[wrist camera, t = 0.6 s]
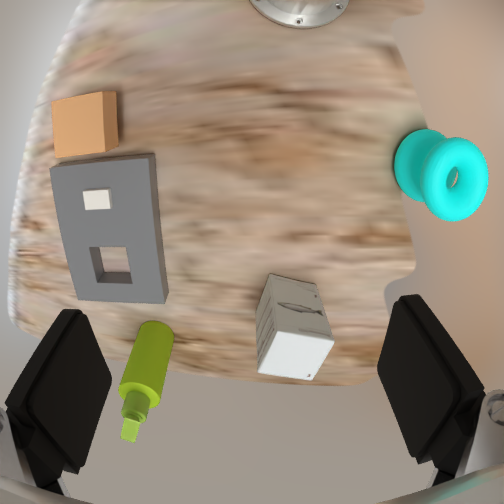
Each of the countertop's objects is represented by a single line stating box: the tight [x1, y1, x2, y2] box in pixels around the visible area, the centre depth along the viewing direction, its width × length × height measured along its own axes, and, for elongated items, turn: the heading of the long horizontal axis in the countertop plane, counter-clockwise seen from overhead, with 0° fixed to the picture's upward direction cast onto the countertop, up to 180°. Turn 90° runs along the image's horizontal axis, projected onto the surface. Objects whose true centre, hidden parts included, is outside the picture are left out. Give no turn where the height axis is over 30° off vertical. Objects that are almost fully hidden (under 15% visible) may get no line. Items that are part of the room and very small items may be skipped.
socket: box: [50, 154, 169, 304], centre depth 40 cm, size 20×14×4 cm
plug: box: [52, 91, 119, 158], centre depth 32 cm, size 7×7×7 cm
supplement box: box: [256, 274, 335, 380], centre depth 41 cm, size 7×7×13 cm
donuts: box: [394, 129, 488, 221], centre depth 34 cm, size 10×10×10 cm
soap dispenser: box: [118, 321, 174, 443], centre depth 41 cm, size 6×7×20 cm
